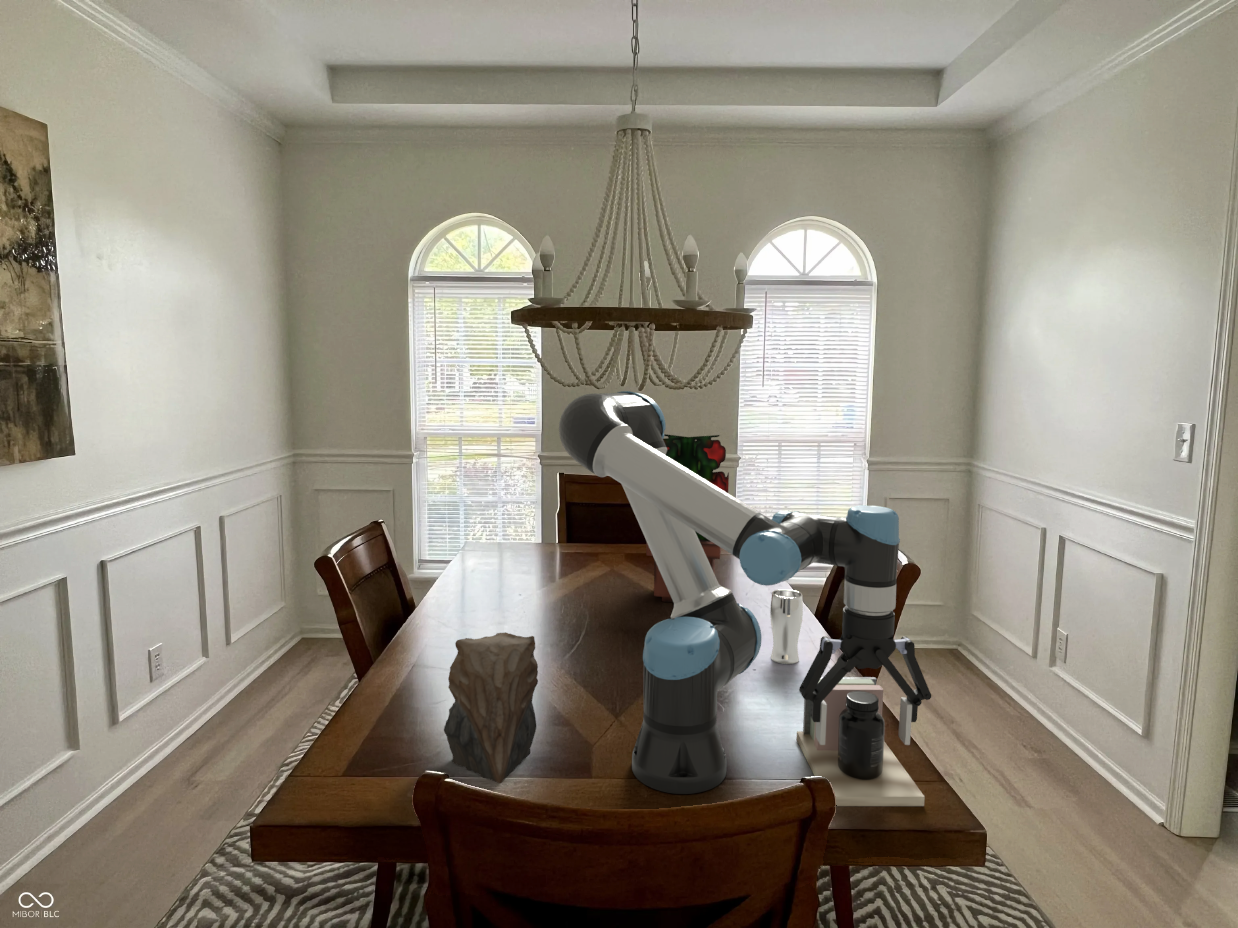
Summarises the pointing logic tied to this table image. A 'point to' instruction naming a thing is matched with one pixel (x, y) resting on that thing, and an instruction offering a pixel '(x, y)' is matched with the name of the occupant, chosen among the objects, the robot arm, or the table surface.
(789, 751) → the table surface
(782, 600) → the beer glass
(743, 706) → the table surface
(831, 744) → the book row
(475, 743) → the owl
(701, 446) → the potted plant
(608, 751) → the table surface
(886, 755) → the shelf board
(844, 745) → the supplement bottle
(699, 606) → the robot arm
